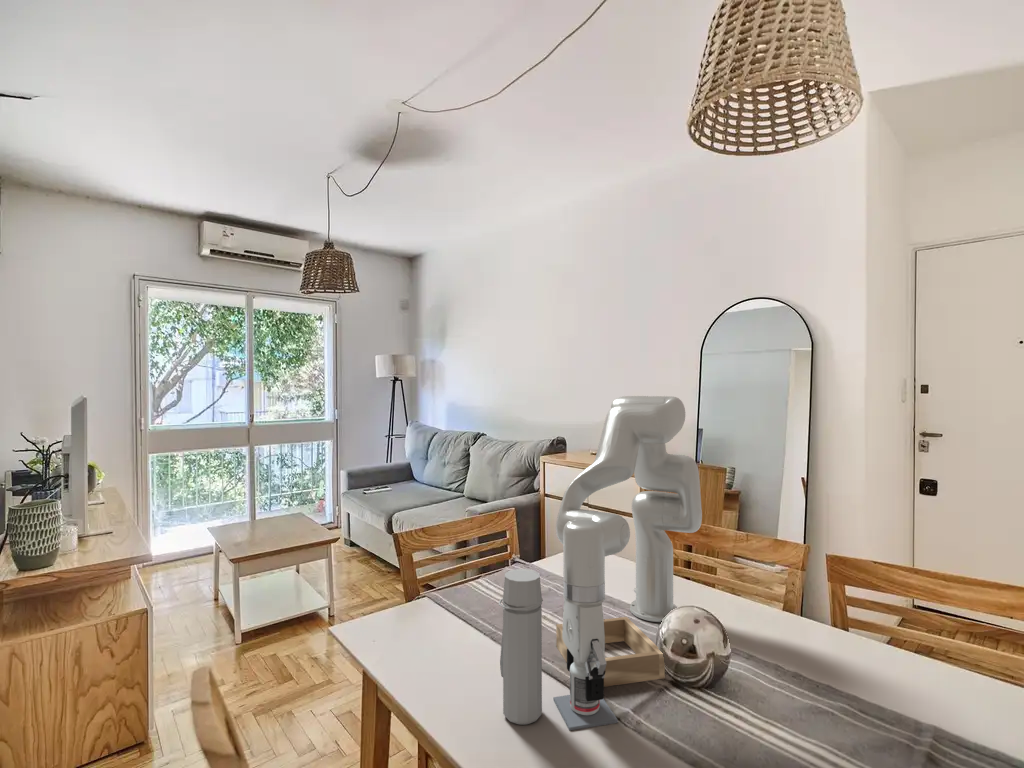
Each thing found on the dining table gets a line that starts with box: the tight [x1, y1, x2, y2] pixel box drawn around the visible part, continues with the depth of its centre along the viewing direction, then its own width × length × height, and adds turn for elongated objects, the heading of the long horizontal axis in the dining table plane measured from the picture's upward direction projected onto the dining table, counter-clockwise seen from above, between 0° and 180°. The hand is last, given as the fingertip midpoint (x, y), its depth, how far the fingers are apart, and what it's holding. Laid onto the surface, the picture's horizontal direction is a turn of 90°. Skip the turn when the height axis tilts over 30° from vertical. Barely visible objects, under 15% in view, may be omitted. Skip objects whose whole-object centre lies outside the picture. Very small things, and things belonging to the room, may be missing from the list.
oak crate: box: [555, 616, 666, 688], centre depth 111 cm, size 17×17×5 cm
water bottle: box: [498, 568, 544, 725], centre depth 94 cm, size 9×8×25 cm
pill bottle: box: [569, 655, 600, 715], centre depth 94 cm, size 5×5×10 cm
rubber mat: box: [553, 694, 619, 731], centre depth 94 cm, size 9×9×1 cm
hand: (584, 683), depth 94 cm, fingers open, 9 cm apart
